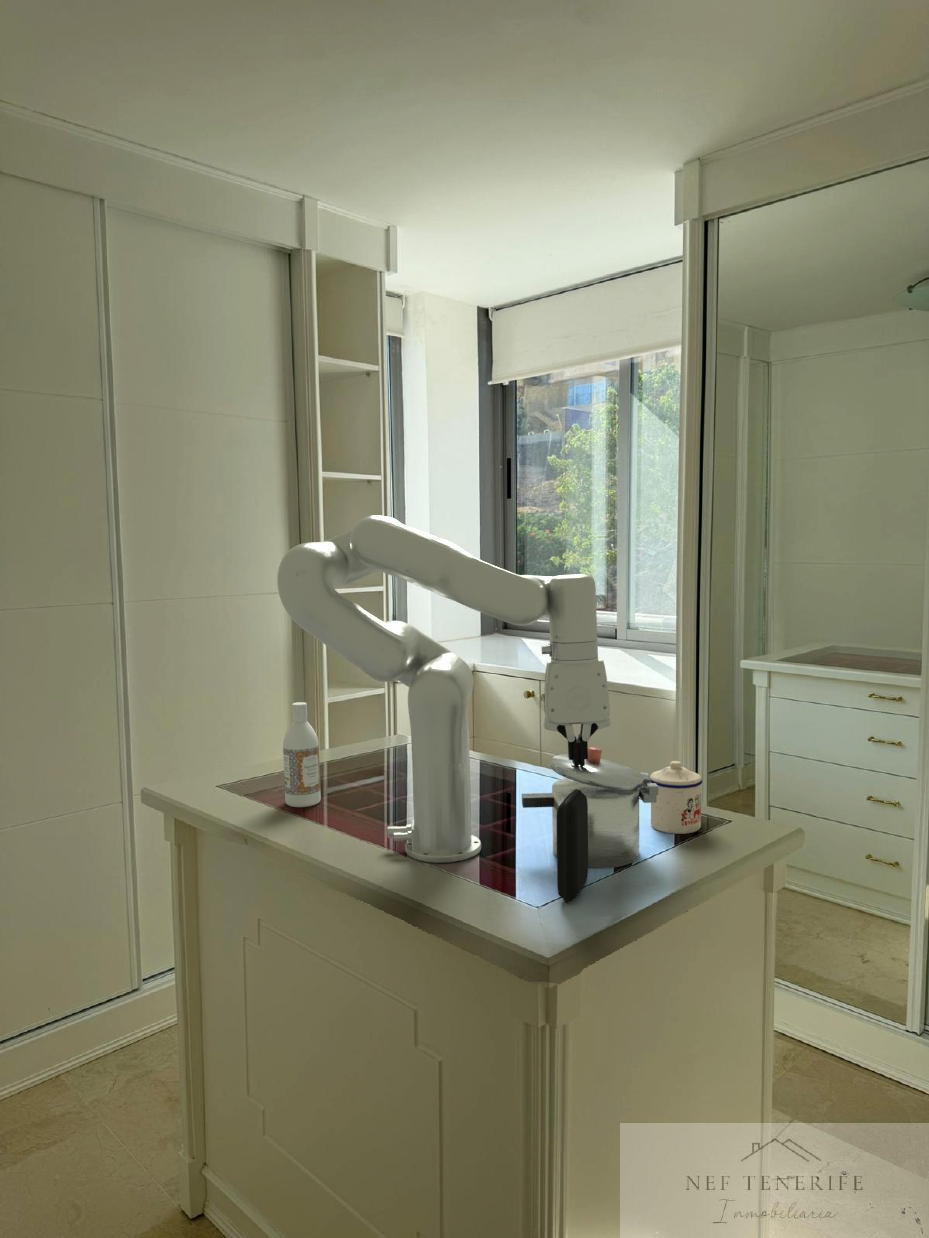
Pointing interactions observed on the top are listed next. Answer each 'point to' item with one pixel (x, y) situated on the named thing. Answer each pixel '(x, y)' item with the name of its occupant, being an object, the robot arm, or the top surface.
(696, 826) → the teacup with lid
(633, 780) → the lid
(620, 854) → the cooker pot
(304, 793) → the bath foam
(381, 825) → the top surface
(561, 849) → the carrying case or bag
